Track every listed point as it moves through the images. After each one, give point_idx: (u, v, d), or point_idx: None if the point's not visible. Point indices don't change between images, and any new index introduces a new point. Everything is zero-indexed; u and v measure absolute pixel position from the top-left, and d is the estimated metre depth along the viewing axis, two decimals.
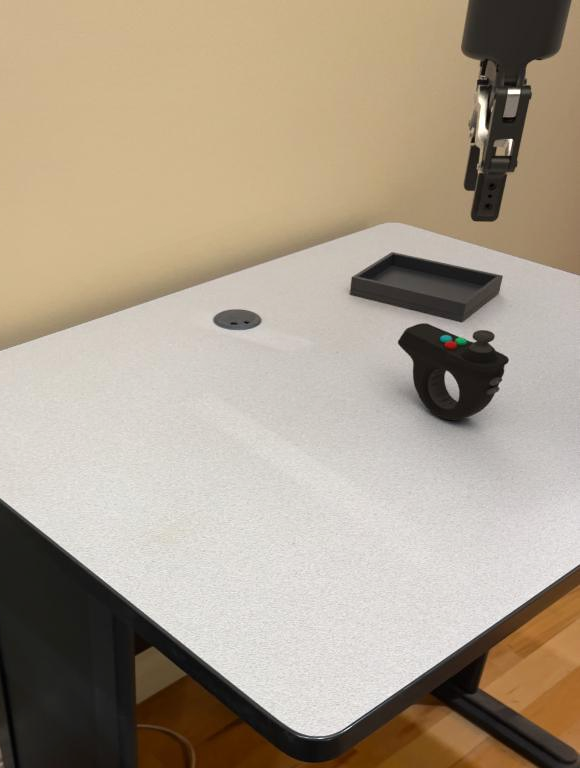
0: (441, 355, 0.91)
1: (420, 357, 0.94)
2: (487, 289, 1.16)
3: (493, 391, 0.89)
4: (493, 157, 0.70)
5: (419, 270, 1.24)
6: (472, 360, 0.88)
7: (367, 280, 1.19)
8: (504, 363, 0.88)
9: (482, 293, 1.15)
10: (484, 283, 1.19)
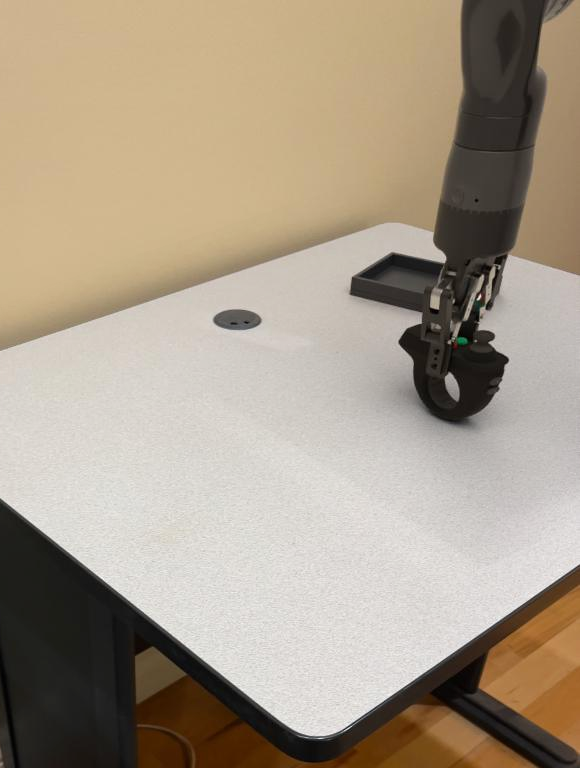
0: None
1: (421, 357, 0.94)
2: None
3: (493, 391, 0.89)
4: (429, 331, 0.87)
5: (419, 270, 1.24)
6: (472, 360, 0.88)
7: (367, 280, 1.19)
8: (504, 363, 0.88)
9: None
10: None
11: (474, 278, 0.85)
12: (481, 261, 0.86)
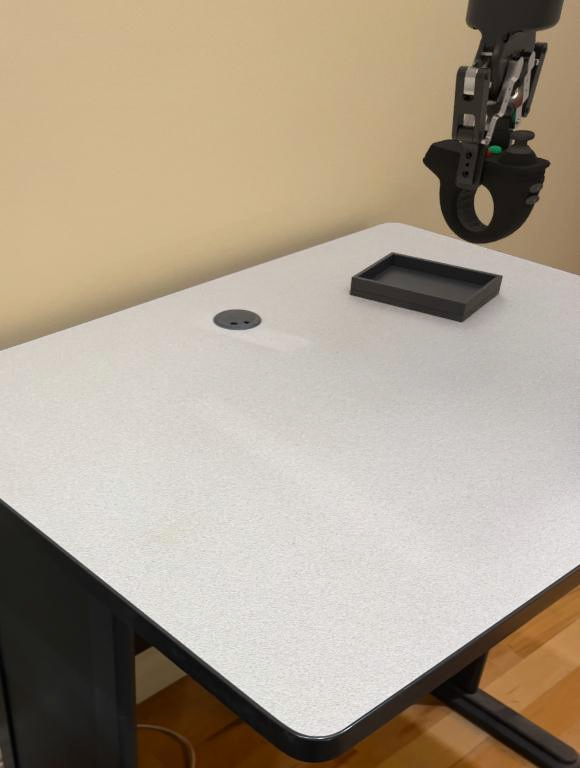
0: None
1: (449, 172, 0.84)
2: (487, 289, 1.16)
3: (533, 200, 0.80)
4: (461, 126, 0.77)
5: (419, 270, 1.24)
6: (510, 163, 0.79)
7: (367, 280, 1.19)
8: (546, 165, 0.79)
9: (482, 293, 1.15)
10: (484, 283, 1.19)
11: (513, 61, 0.75)
12: (520, 44, 0.76)
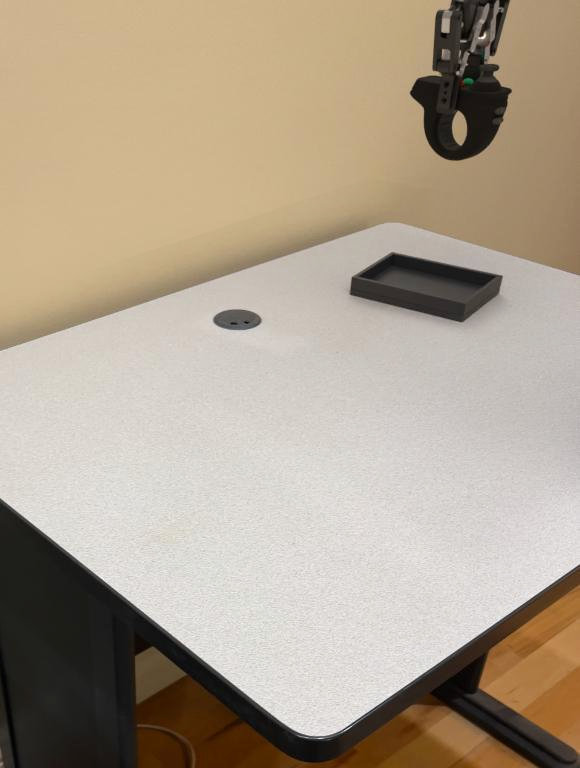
0: None
1: (431, 101, 1.03)
2: (487, 289, 1.16)
3: (498, 121, 0.99)
4: (440, 60, 0.96)
5: (419, 270, 1.24)
6: (479, 90, 0.98)
7: (367, 280, 1.19)
8: (508, 92, 0.98)
9: (482, 293, 1.15)
10: (484, 283, 1.19)
11: (480, 7, 0.95)
12: None
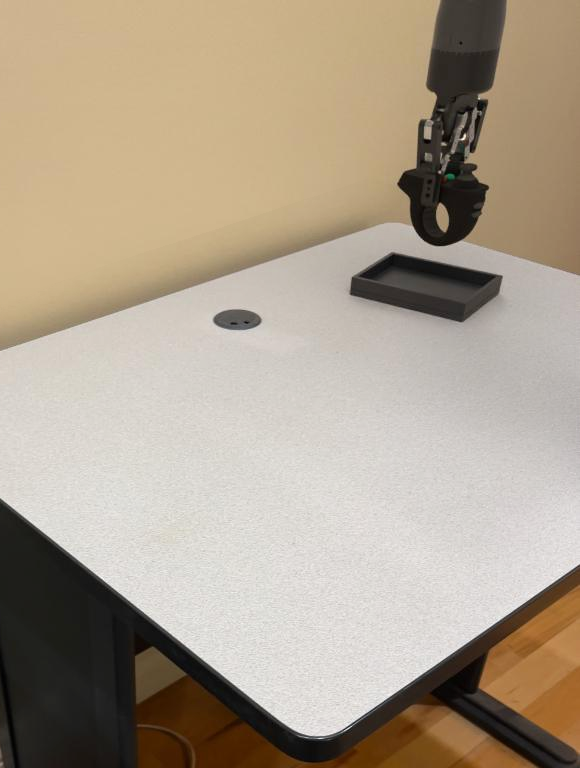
0: None
1: (416, 193, 1.13)
2: (487, 289, 1.16)
3: (476, 214, 1.09)
4: (423, 161, 1.06)
5: (419, 270, 1.24)
6: (459, 187, 1.08)
7: (367, 280, 1.19)
8: (485, 189, 1.07)
9: (482, 293, 1.15)
10: (484, 283, 1.19)
11: (459, 115, 1.04)
12: (465, 102, 1.05)
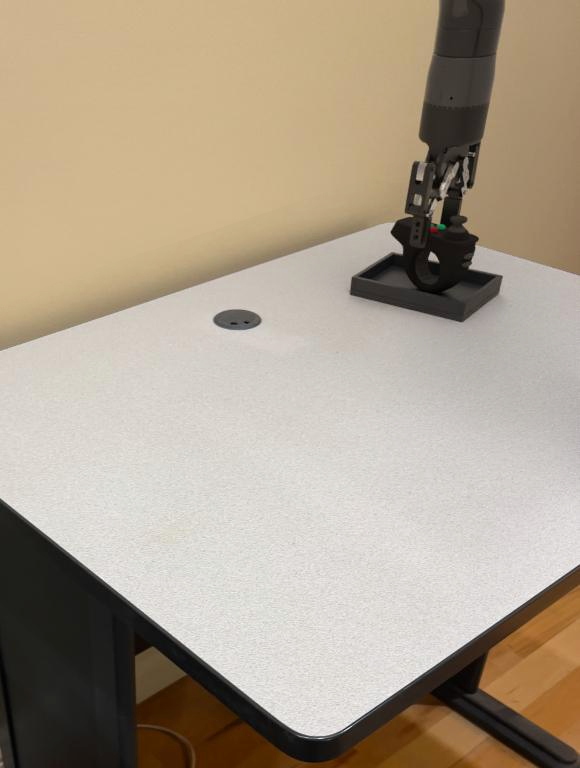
0: None
1: None
2: (487, 289, 1.16)
3: (467, 264, 1.13)
4: (411, 205, 1.08)
5: None
6: (450, 239, 1.12)
7: (367, 280, 1.19)
8: (475, 240, 1.11)
9: (482, 293, 1.15)
10: (484, 283, 1.19)
11: (451, 165, 1.08)
12: (456, 152, 1.08)
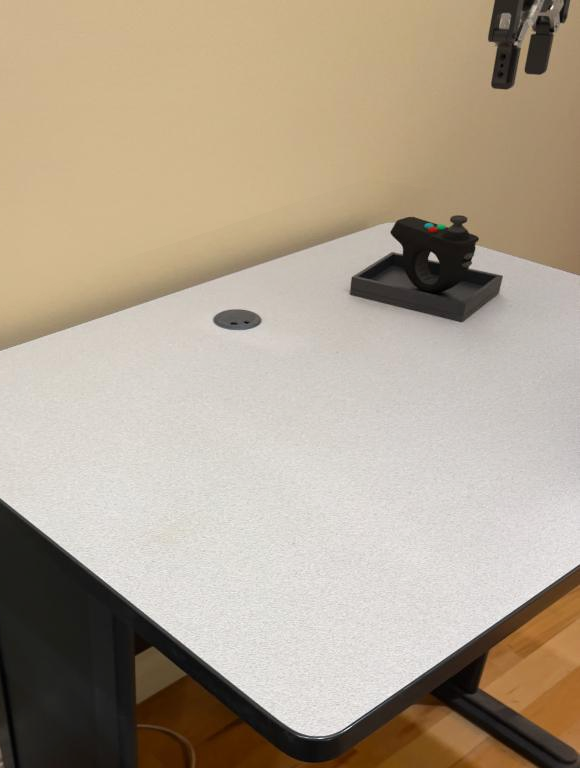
0: (425, 237, 1.14)
1: (409, 242, 1.17)
2: (487, 289, 1.16)
3: (467, 264, 1.13)
4: (497, 29, 0.89)
5: None
6: (450, 239, 1.12)
7: (367, 280, 1.19)
8: (475, 240, 1.11)
9: (482, 293, 1.15)
10: (484, 283, 1.19)
11: None
12: None
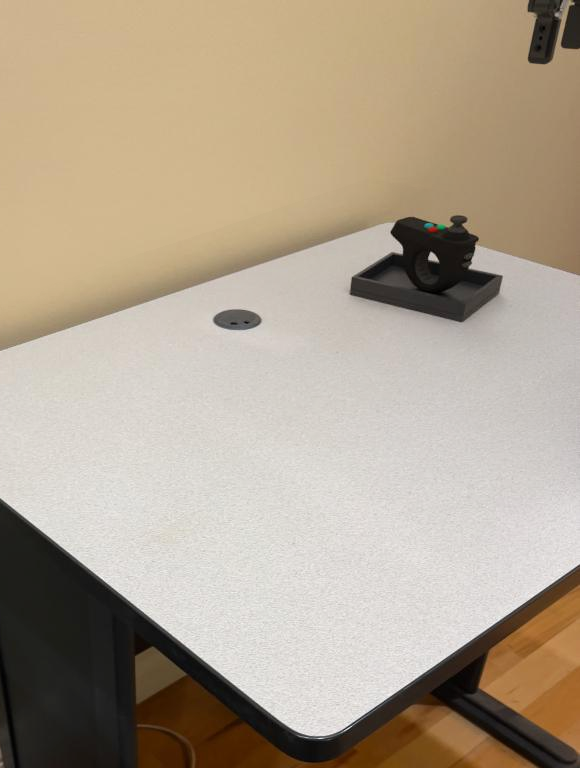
0: (425, 237, 1.14)
1: (409, 242, 1.17)
2: (487, 289, 1.16)
3: (467, 264, 1.13)
4: None
5: None
6: (450, 239, 1.12)
7: (367, 280, 1.19)
8: (475, 241, 1.11)
9: (482, 293, 1.15)
10: (484, 283, 1.19)
11: None
12: None
